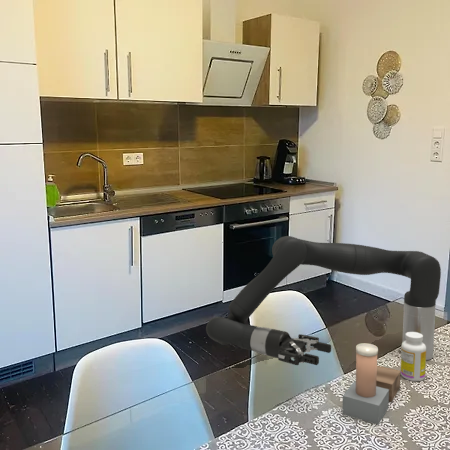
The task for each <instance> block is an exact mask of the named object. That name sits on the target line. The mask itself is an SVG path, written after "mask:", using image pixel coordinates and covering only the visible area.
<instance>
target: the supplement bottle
mask: <svg viewBox="0 0 450 450" xmlns="http://www.w3.org/2000/svg"><path fill="white" fill-rule="evenodd" d="M405 338H406V341H404V342H403V341H402V343H401V346H400V347H401V350H400V352H401V353H400V355H401V356H400V357H401V358H400V359H401V360H400V371H401V377H402V378H404V379H405V380H408V381H412V382H420V381H423V380H425V378H426V367H427V366H426V363H427V360H426V346H425V344H424V343H422V340H423V335H422V334H420V333H417V332H407V333H406V334H405Z"/></svg>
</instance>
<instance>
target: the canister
mask: <svg viewBox="0 0 450 450" xmlns="http://www.w3.org/2000/svg"><path fill="white" fill-rule="evenodd" d="M355 353H356V359H355V360H356V361H355V364H356V365H355V381H356V393H357V394H358V395H359V396H362V397H374V396H375V395H376V382H377V366H378V354H379V348H378V346H376V345H374V344H373V343H364V342H363V343H358V344H357V345H356V346H355Z"/></svg>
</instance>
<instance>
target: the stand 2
mask: <svg viewBox="0 0 450 450" xmlns="http://www.w3.org/2000/svg"><path fill="white" fill-rule="evenodd" d="M401 377H402V375H401V370H399V369H394V368H390V367H386V366H382V365H381V366H380V365H377V382H376V386H377V387H381V388H385V389H389V403H392V402H393V401H394V399H395V397H396V395H397V394H398V392H399V390H400V389H401Z"/></svg>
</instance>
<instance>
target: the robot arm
mask: <svg viewBox="0 0 450 450" xmlns="http://www.w3.org/2000/svg"><path fill="white" fill-rule="evenodd" d="M271 252H272V256H273V257H272V258H271V260H270V261H269V263H268V264H267V265H266V267H264V269H263V270H261V272H260V273H258V275H256V276H255V277H254V278H253V279H252V280H251V281H249V282H248V283H247V284H245V286H243V288H242V289H241V290H240V291H239V293H238V294H236V296H235V297H234V299H233V300H232V301H231V302H230V303H229V305H228V310H229V314H228V316H227V317H222V316H215V317H212V318H211V319H210V320H209V321H208V322H207V324H206V327H205V332H206V334H207V336H208V337H209V338H210V339H211V340H213V341H214V342H216V343H219V344H221V345H223V346H229V345H234V346H236V347H238V348H240V349H243V350H248V351H251V352H255V353H258V354H260V355H265V356H268V357H271V358H275V359H277V360H278V361H281V362H283V363H287V364H291V365H294V366H299V365H300V364H304V363H306V364H311V365H315V366H318V365H319V363H320V356H318V355H315V354H311V353H310V352H311V351H317V352H318V351H319V352H323V353H326V354H330V353H331V352H332V345H331V344H329V343H325V342H321V341H319V340H320V339H319V337H317V336H311V335H307V334H298V337H297V338H296V337H295V338H292V337H291V336H290V334H289V332H287V331H284V330H280V329H276V328H270V327H266V326H257V325H253V324H252V325H251V324H247V321H248V319H249V318H250V317H251V316H252V315H253V313H254V312H255V311H256V310H257V309H258V308H259V306H260V305H261V304H262V303H263V301H264V300H265V299H266V298H267V297H268V296H269V295H270V294H271V292H272V291H273V290H274V289H275V288H276V287H277V286H278V285H279V284H280V283H281V282H282V281H283V280H284V279H286V278H287V276H289V275H290V274H291V273H292V272H294V271H295V270H296V269H297V268H299V266H302V265H304V266H316V267H321V268H324V269H327V270H330V271H334V272H339V273H343V274H350V275H358V276H361V275H362V276H369V275H370V276H371V275H377V274H393V275H398V276H402V277H406V278H409V279H410V286H409V290H408V291H406V292H405V293H404V297H403V317H402V318H403V319H402V320H403V321H402V324H403V325H402V343H403V342H404V341H406V338H405V334H406V333H407V332H417V333H420V334H422V335H423V340H422V343H424V344H425V346H426V361H429V360H431V359H433V357H434V347H435V346H434V344H435V328H436V327H435V325H436V324H435V321H436V306H437V305H436V303H437V298H438V296H439V295H440V286H441V279H442V278H441V275H442V274H441V273H442V270H441V264H440V262H439V261H438V259H437V258H436V257H434V256H432V255H429V254H427V253H425V252H423V251H419V250H388V249H383V248H379V247H375V246H370V245H369V246H368V245H363V244H355V243H344V242H341V243H340V242H317V241H316V242H315V241H312V240H311V241H310V240H306V239H301V238H297V237H294V236H291V235H286V236H281V237H280V238H278V239H277V240H276V241H275V242H273V244H272V247H271Z"/></svg>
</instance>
